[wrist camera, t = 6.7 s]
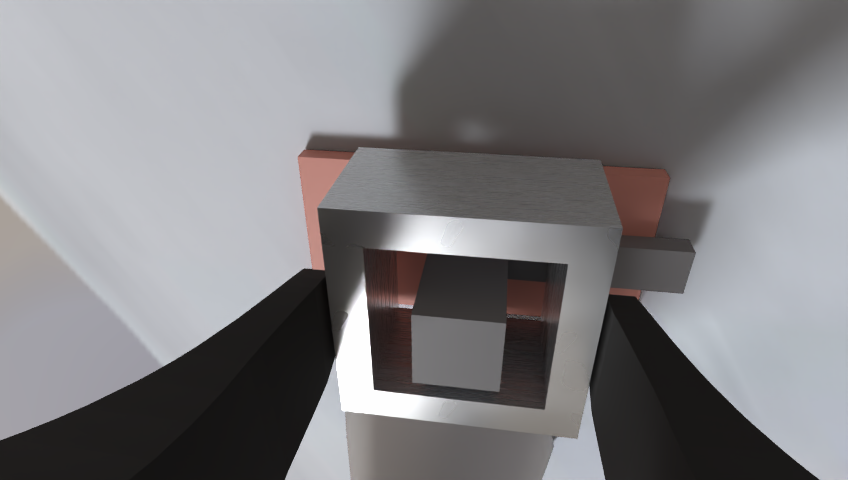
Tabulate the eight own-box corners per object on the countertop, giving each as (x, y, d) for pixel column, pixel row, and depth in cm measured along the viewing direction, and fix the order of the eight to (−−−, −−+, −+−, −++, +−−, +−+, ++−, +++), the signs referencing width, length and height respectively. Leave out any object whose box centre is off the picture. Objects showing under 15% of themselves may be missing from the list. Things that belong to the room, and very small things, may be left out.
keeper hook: (700, 171, 13) (783, 287, 9) (658, 315, 15) (709, 460, 11) (304, 149, 14) (219, 242, 10) (321, 286, 16) (258, 406, 12)
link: (601, 159, 12) (623, 228, 9) (567, 346, 14) (577, 438, 12) (358, 147, 12) (317, 207, 10) (371, 327, 15) (342, 410, 13)
